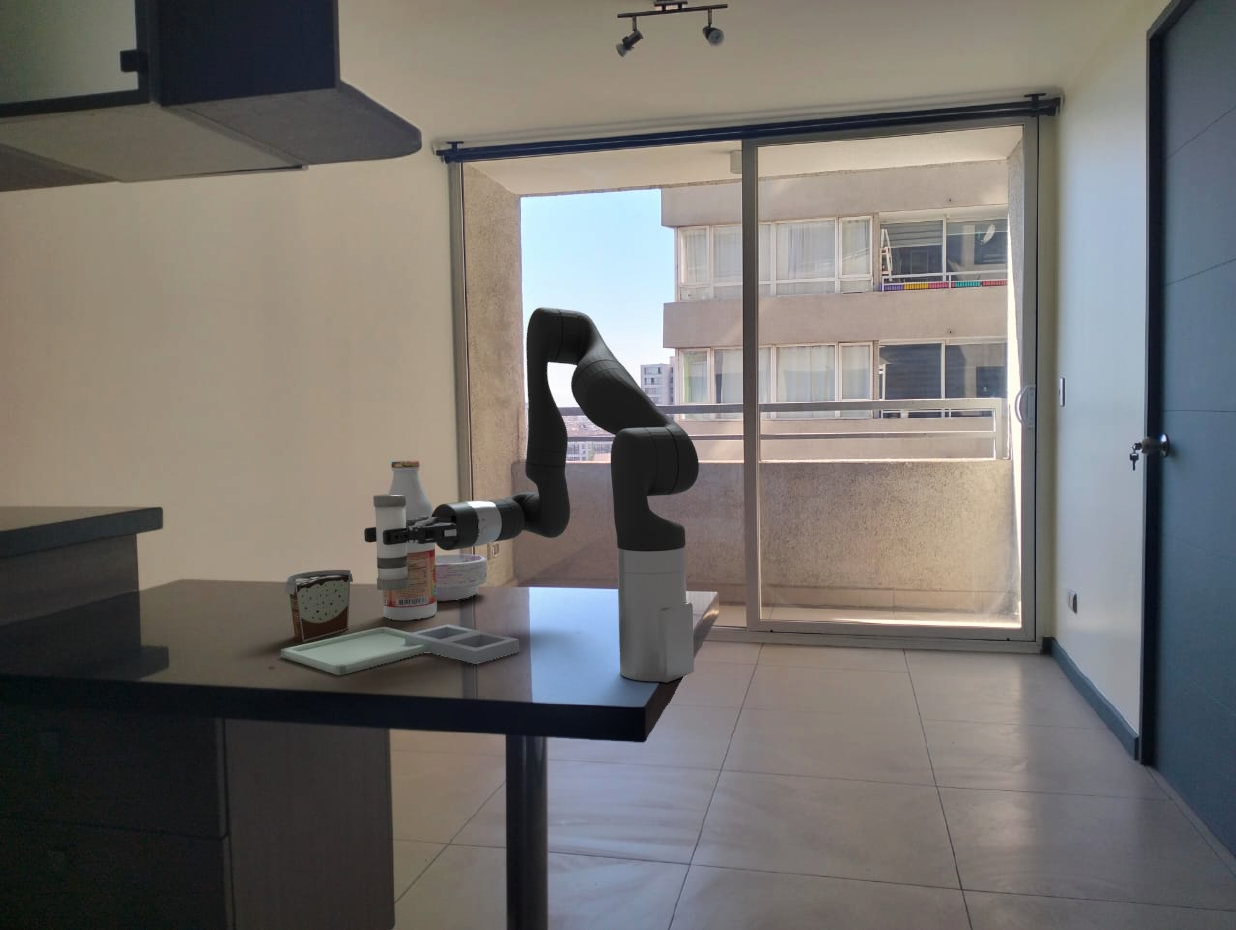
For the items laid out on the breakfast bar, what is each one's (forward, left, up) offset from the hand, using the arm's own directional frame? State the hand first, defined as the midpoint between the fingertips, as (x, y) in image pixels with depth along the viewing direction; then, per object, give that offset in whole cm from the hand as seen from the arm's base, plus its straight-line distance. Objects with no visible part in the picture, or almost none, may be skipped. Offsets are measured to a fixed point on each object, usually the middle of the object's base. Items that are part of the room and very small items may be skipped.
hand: (375, 536), depth 131 cm
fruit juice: (+19, -19, -18) cm, 33 cm away
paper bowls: (+27, -34, -18) cm, 48 cm away
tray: (+3, +1, -18) cm, 18 cm away
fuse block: (-7, -9, -18) cm, 22 cm away
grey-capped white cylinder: (0, -3, -8) cm, 8 cm away
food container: (+21, -1, -18) cm, 28 cm away
